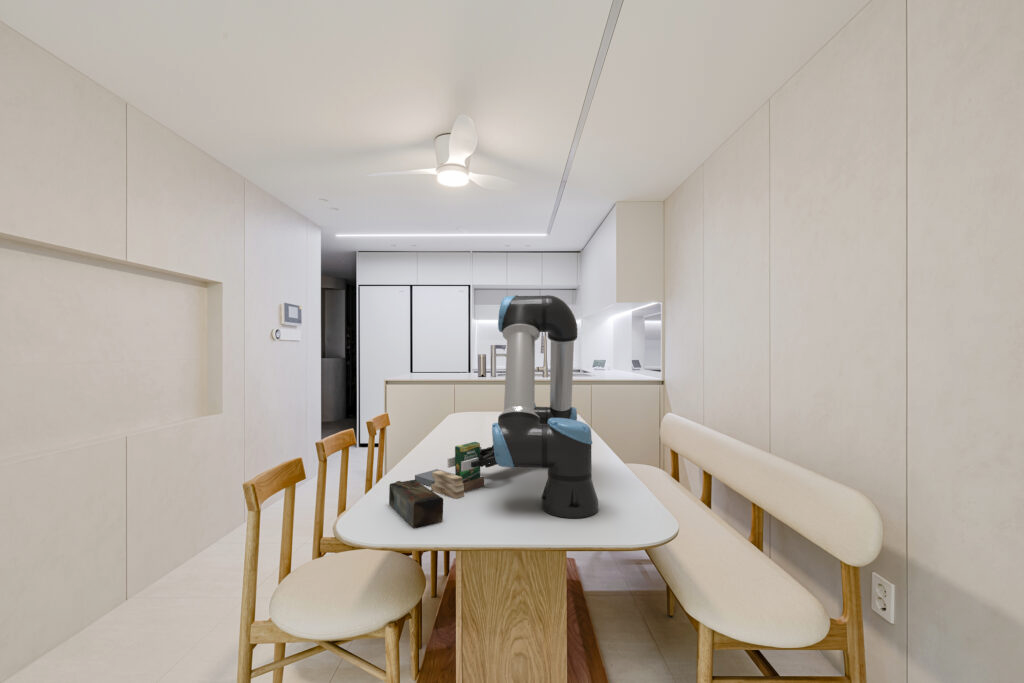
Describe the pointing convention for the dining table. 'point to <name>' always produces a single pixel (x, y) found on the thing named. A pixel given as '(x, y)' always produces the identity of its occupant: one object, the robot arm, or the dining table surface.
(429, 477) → the stand pad
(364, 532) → the dining table surface
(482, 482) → the walnut rack
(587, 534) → the dining table surface
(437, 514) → the beverage carton
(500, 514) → the dining table surface
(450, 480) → the offcut stack
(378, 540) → the dining table surface
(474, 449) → the coffee box
